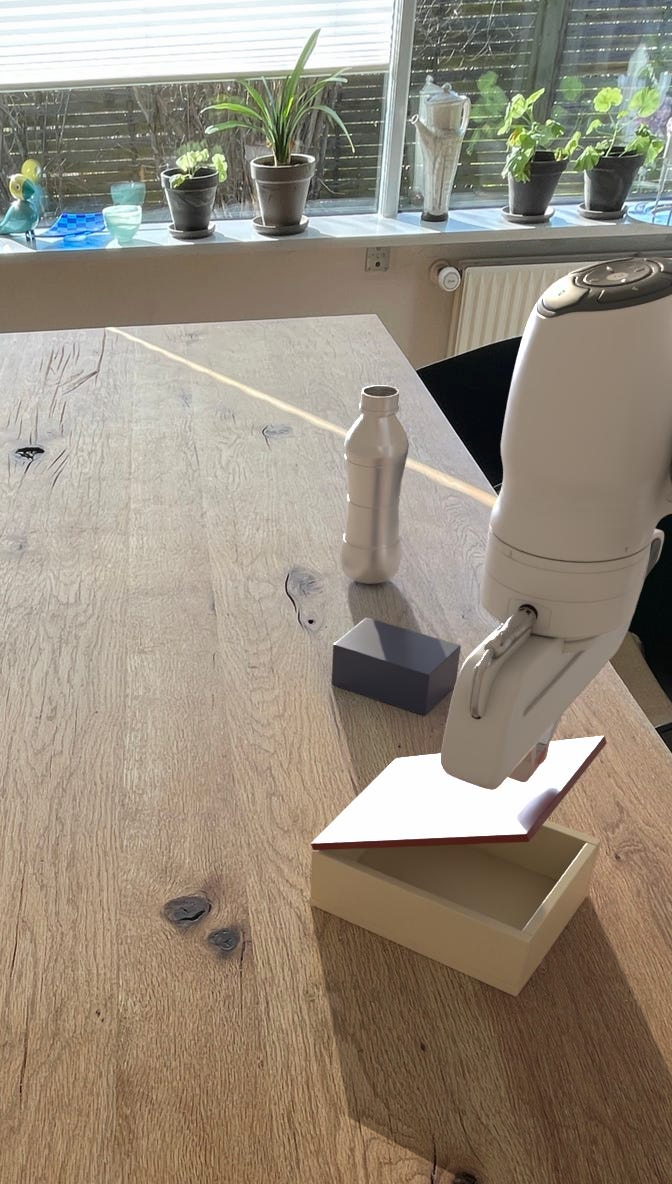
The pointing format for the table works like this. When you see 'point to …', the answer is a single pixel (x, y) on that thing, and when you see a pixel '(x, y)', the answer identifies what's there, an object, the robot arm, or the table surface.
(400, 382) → the table surface
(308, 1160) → the table surface
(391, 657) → the dark grey brick
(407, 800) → the cover
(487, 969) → the beige open box
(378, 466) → the plastic bottle
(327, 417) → the table surface
